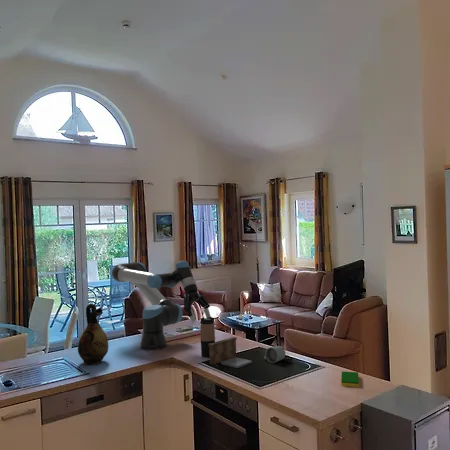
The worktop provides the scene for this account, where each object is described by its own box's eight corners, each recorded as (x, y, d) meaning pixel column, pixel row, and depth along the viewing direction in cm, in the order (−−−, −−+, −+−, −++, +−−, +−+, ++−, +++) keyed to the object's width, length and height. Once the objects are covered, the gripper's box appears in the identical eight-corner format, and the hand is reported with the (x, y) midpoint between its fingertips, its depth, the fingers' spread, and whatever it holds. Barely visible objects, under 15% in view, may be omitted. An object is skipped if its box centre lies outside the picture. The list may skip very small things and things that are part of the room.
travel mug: (210, 358, 235) (209, 320, 235) (198, 356, 239) (197, 319, 239) (218, 355, 241) (217, 317, 242) (206, 353, 245) (205, 316, 246)
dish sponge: (358, 377, 201) (358, 372, 201) (359, 388, 188) (358, 382, 188) (341, 376, 203) (341, 371, 203) (341, 386, 190) (341, 381, 190)
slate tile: (221, 364, 225) (220, 362, 225) (235, 359, 233) (235, 357, 233) (237, 368, 217) (237, 366, 217) (251, 362, 225) (251, 360, 225)
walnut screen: (212, 365, 224) (212, 344, 224) (208, 364, 225) (208, 344, 225) (237, 356, 237) (236, 337, 237) (233, 355, 239) (233, 336, 239)
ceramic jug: (114, 361, 234) (113, 303, 234) (87, 368, 223) (86, 308, 223) (97, 355, 246) (96, 300, 246) (70, 362, 234) (69, 304, 235)
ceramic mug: (286, 360, 228) (286, 345, 228) (277, 364, 222) (277, 348, 222) (269, 357, 235) (269, 342, 235) (260, 361, 229) (259, 345, 229)
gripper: (179, 283, 249) (191, 319, 241) (207, 283, 269) (220, 316, 261) (170, 289, 253) (182, 324, 245) (199, 288, 273) (211, 321, 265)
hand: (201, 320), depth 253 cm, fingers open, 13 cm apart
